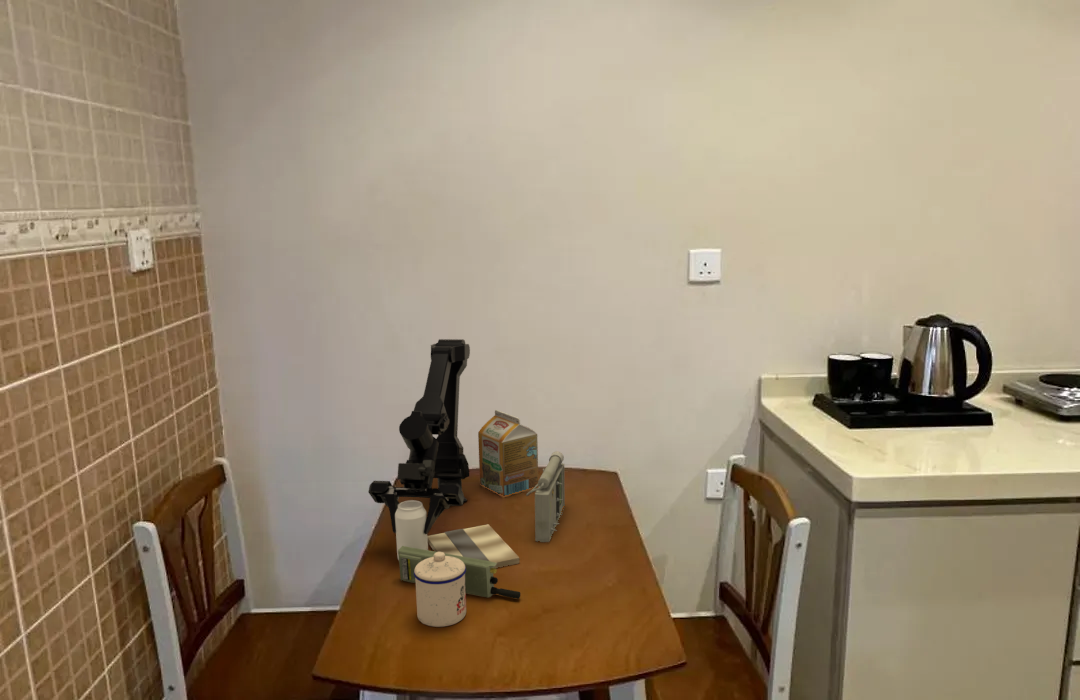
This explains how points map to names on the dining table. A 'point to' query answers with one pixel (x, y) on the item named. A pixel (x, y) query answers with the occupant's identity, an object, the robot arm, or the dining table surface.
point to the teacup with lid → (440, 590)
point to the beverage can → (411, 525)
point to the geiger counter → (549, 498)
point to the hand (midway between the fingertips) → (409, 533)
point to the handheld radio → (475, 576)
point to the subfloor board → (475, 545)
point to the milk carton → (507, 455)
